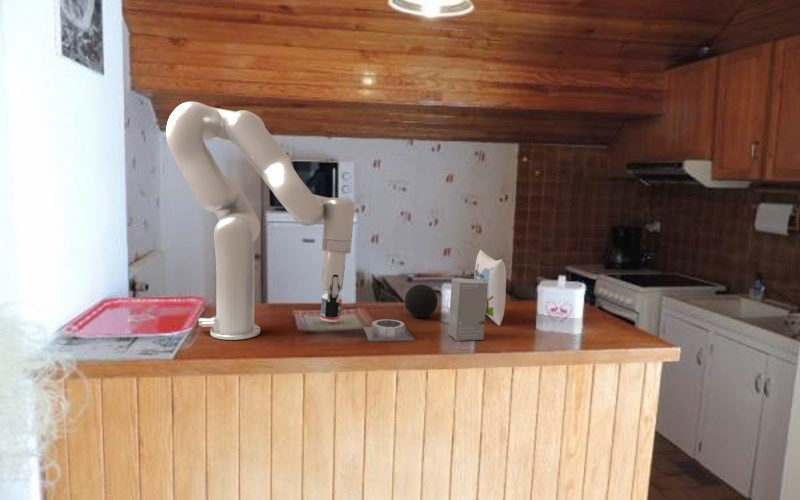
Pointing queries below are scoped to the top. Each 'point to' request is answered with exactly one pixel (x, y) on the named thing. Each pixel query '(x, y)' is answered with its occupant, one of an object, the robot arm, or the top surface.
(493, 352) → the top surface
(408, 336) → the plate
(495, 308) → the pouch
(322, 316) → the pill bottle
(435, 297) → the speaker
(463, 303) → the skincare box
